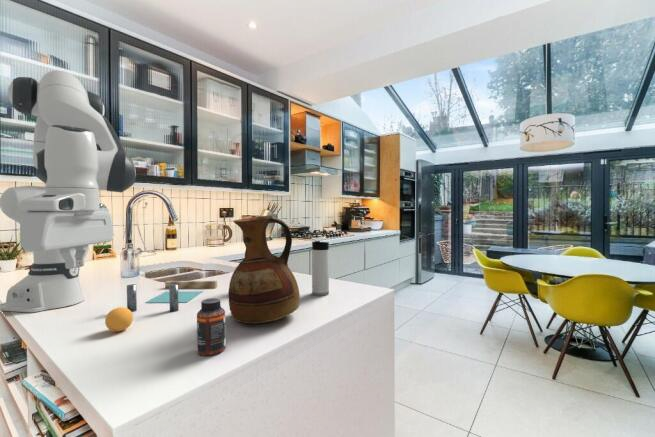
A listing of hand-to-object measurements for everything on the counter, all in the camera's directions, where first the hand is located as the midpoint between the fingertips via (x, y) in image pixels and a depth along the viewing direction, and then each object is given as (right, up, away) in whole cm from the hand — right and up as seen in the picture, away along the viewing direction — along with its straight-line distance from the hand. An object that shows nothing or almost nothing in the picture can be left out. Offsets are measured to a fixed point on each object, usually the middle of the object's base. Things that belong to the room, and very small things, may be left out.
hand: (75, 267), depth 66 cm
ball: (0, -16, +14) cm, 21 cm away
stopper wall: (-1, -17, +59) cm, 62 cm away
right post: (+6, -18, +31) cm, 36 cm away
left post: (-7, -18, +30) cm, 36 cm away
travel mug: (+51, -18, +49) cm, 73 cm away
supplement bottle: (+28, -19, +3) cm, 34 cm away
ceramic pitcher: (+36, -19, +24) cm, 47 cm away
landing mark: (-1, -18, +45) cm, 49 cm away
